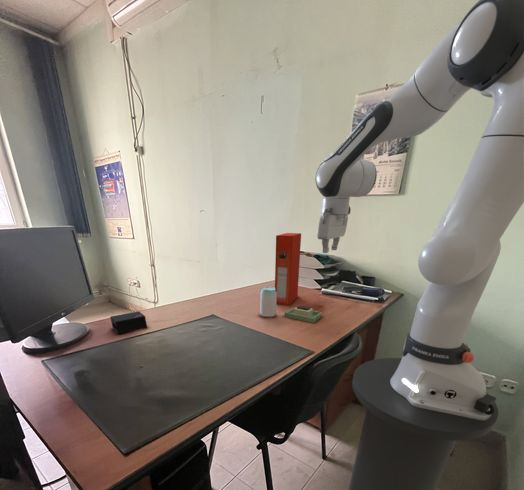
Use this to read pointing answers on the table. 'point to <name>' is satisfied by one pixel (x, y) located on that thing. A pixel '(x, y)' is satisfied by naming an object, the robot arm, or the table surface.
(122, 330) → the electronic device
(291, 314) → the tray
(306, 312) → the cream rectangular box
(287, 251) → the file binder
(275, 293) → the can
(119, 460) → the table surface
